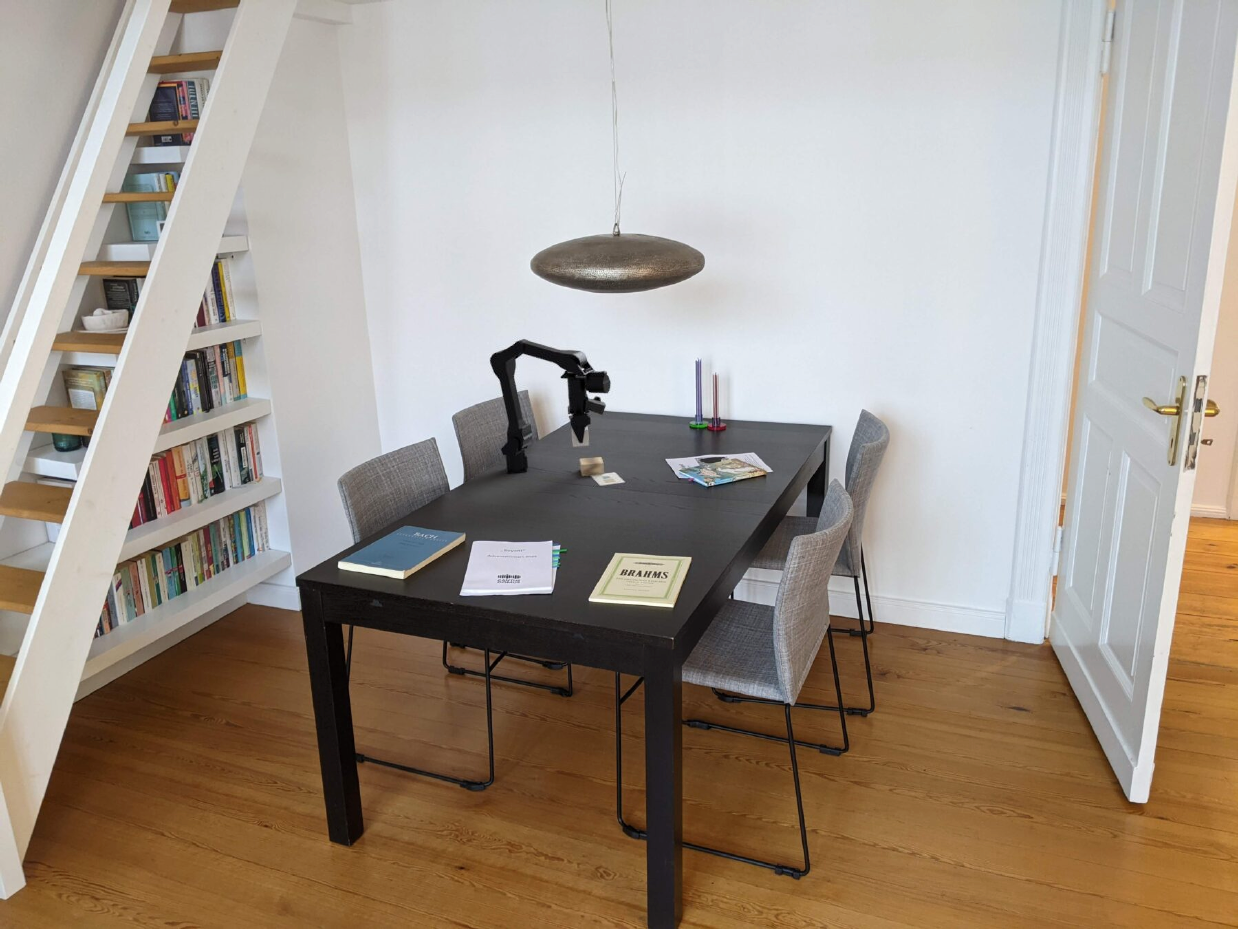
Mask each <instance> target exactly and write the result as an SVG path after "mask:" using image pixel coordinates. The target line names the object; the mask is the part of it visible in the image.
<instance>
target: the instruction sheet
mask: <svg viewBox="0 0 1238 929" xmlns="http://www.w3.org/2000/svg"><path fill="white" fill-rule="evenodd" d="M590 477H591V478H592V480H594V481H595V482H596V483H597V484H598V486H600V487H603V486H609V485H611V486H612V485H619V484H624V483H626V481H625V480H623V478H622V477H620V475H618V474H617V473H616V472H607V473H606V472H605V473H604V474H599V475H590Z"/></svg>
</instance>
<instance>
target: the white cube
mask: <svg viewBox="0 0 1238 929" xmlns="http://www.w3.org/2000/svg"><path fill="white" fill-rule="evenodd" d="M570 427H571V426H570ZM570 429H571V441H572V447H573V448H575V447H587V446H590V440H589V439H590V437H589V428H588V425H587V426H586V427H585V432H584V438H583V443H579V441H578V439H577V437H576V435H575V433H574V431H573V429H572V427H571V428H570Z"/></svg>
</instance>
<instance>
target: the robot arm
mask: <svg viewBox="0 0 1238 929" xmlns="http://www.w3.org/2000/svg"><path fill="white" fill-rule="evenodd" d="M523 355H525V356H530V357H533V358H536V359H538V360H539V359H540V360H542V361H547V362H549V363H553V364H555V365H557V366H558V367H559V368H561V369H562V370H564V372H563V374H562V375H560V379H562V380H563V379H566V380H567V382H566V383H567V397H568V406H567V415H569V416H568V418H569V424H570V427H572V429H573V431H574V433H575V435H576V437H577V439H578V441H579V443H583V438H584V432H585V427H586V426H587V427H588V426H590V425H591V424H592V423H591V416H590V415H589V413H590V412H592V413H595V414H598V415H601V416H603V415H604V412H605V411H606V410H605V409H606V402H604V401H602V399H601V397H600V396H597V395H595V396H594V397H593V398H589V396H588V393H589V394H608V393H609V392H610V390H611V386H612V385H611V384H612V382H611V379H610V377H609V375H608V372H607V370H601V371H600V370H599V371H598V370H597V371H596V370H595V368H594V367H593V366H592V364H591V363H590V361H589V360H588V356H587V355H586V354H585V352H584V351H581V350H572V349H558V348H555V347H552V346H548V345H545V344H541V343H537V342H534V341H531V340H528V339H525V338H522V339H519V340H518V341H515V342H514V343H513V344H512V345H510V346H508V347H507V348H505V349H504V348H503V349H501V350H498V351H496V352H494V353H492V354H491V356H490V358H489V363H490V366H491V369H492V372H493V374H494V375H495V376H496V378H497V379H498V381H499V384H500V390H501V394H502V399H503V404H504V408H505V413H506V418H507V422H508V424H507V425H508V426H507V429H506V443H505V444H504V445H502V447H501V448H500V451H501V453H502V456H505V462H506V467H505V468H506V474H515V473H526V472H527V471H528V468H529V463H528V455H527V454H526V451H525V450H527V449H528V448H529V445H530V444H531V442H532V441H533V436H534V434H533V431H532V425H531V423H528V424H527V423H526V422H525V420H524V416H523V413H522V409H521V408H522V407H521V402H520V399H519V393H518V389H517V385H516V380H515V373H516V368H517V363H516V362H517V361H516V360H517V359H519V358H520V357H521V356H523ZM587 392H588V393H587ZM572 429H571V430H572Z"/></svg>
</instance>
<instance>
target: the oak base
mask: <svg viewBox="0 0 1238 929" xmlns="http://www.w3.org/2000/svg"><path fill="white" fill-rule="evenodd" d="M604 465H605V464H604V461H603V458H602V457H601V456H599V457H597V456H596V457H595V456H594V457H585V458H579V468H580V469H579V470H580V474H581V476H582V477H589V476H590V477H591V475H599V474H605V468H604Z"/></svg>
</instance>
